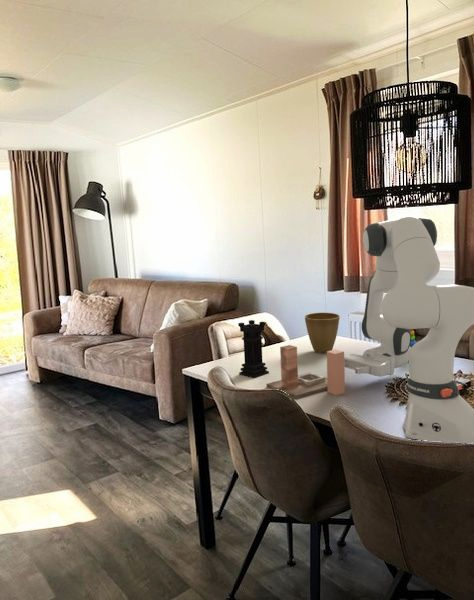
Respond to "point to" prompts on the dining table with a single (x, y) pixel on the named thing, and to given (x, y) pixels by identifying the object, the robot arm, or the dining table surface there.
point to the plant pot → (322, 330)
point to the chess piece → (252, 349)
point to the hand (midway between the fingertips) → (346, 368)
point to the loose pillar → (335, 372)
